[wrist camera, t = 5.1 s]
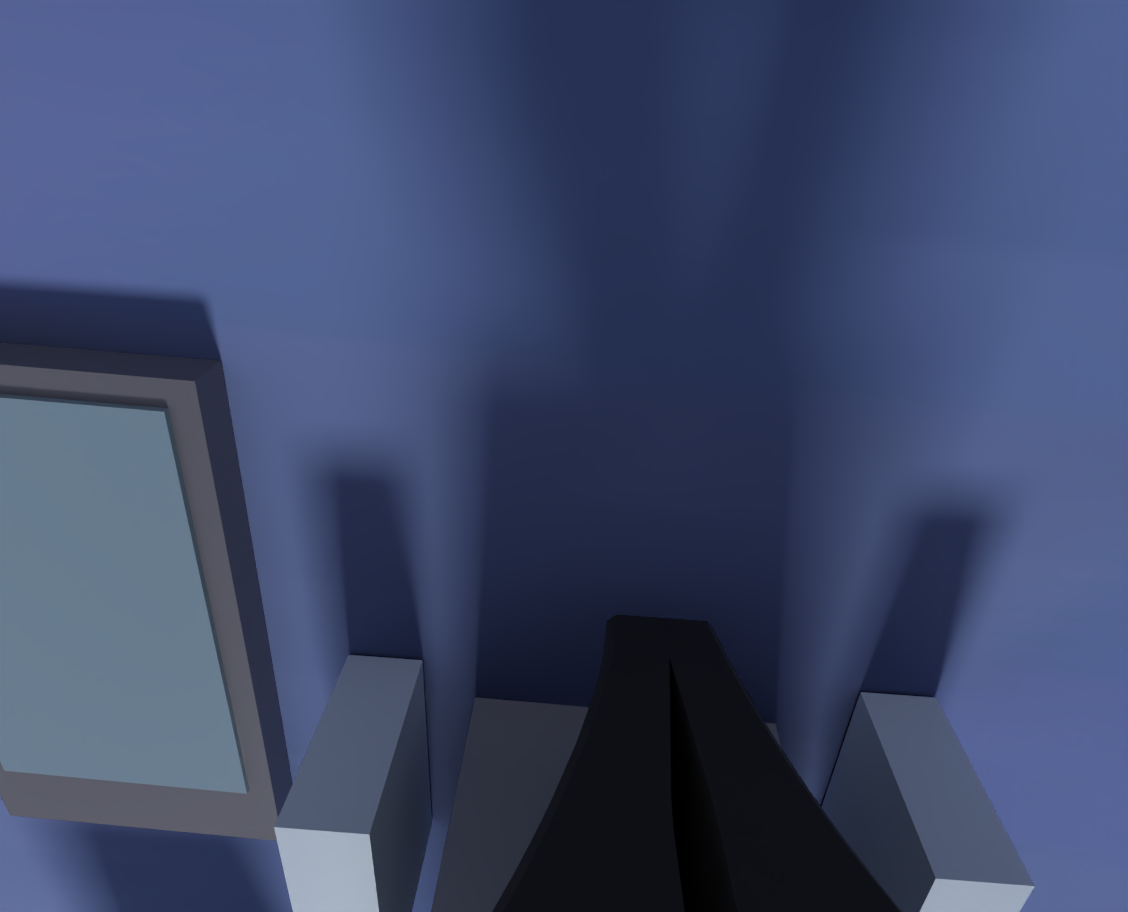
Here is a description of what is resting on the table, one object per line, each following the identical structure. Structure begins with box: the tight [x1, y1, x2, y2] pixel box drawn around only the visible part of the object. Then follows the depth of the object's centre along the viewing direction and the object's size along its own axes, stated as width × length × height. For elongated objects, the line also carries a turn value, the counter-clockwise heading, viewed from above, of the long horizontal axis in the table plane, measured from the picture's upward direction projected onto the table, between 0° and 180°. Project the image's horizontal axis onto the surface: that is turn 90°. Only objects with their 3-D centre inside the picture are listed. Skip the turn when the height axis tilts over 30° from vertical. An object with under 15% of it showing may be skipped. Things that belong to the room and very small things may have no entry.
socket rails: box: [274, 655, 1035, 912], centre depth 11 cm, size 9×4×3 cm, turn 87°
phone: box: [0, 342, 292, 841], centre depth 11 cm, size 5×9×1 cm, turn 176°
